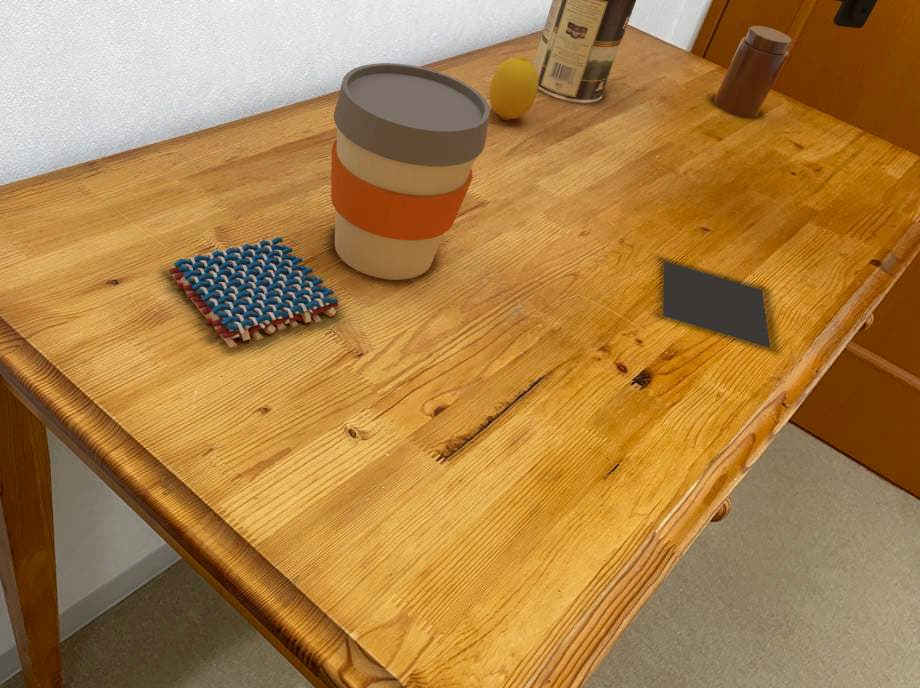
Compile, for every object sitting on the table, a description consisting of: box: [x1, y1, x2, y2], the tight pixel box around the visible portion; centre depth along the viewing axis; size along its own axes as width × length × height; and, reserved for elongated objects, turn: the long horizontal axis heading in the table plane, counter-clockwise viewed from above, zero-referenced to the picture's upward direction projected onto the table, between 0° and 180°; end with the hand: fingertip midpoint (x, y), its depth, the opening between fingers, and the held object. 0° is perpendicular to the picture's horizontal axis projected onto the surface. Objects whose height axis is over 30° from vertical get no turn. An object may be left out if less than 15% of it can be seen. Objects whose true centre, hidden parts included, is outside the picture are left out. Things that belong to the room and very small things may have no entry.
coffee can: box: [533, 0, 637, 104], centre depth 110 cm, size 10×10×14 cm
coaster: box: [662, 260, 771, 349], centre depth 81 cm, size 10×10×1 cm
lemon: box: [489, 55, 539, 121], centre depth 101 cm, size 6×6×8 cm
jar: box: [713, 25, 792, 119], centre depth 117 cm, size 6×6×11 cm
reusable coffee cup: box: [330, 62, 491, 281], centre depth 72 cm, size 13×12×15 cm
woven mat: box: [169, 236, 339, 349], centre depth 69 cm, size 10×11×2 cm
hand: (823, 9), depth 83 cm, fingers closed on lid, 6 cm apart
